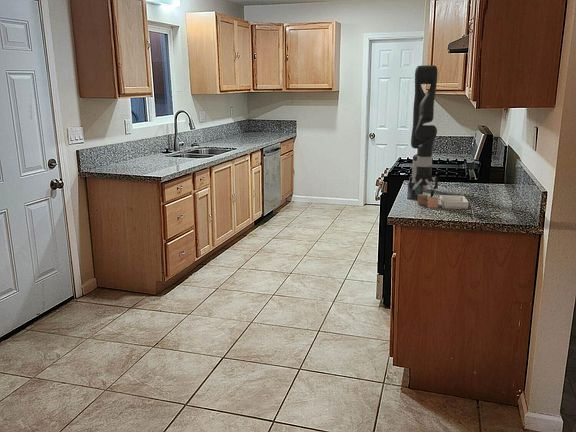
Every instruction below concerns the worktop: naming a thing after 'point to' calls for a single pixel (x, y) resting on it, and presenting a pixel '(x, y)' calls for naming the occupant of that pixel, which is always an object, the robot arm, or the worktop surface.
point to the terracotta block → (432, 202)
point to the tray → (453, 202)
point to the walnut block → (422, 199)
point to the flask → (417, 190)
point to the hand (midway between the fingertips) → (422, 196)
